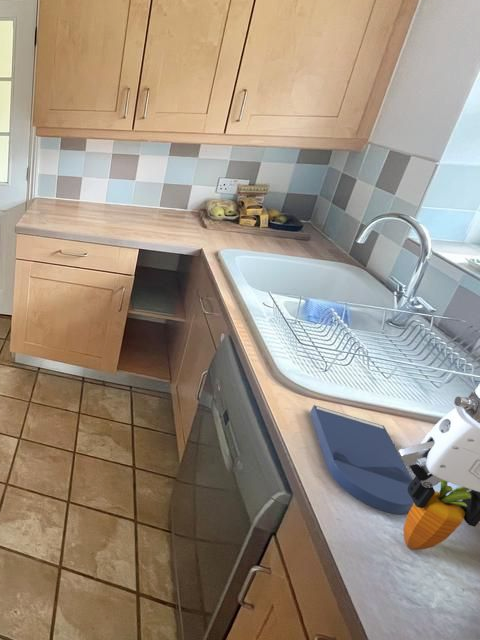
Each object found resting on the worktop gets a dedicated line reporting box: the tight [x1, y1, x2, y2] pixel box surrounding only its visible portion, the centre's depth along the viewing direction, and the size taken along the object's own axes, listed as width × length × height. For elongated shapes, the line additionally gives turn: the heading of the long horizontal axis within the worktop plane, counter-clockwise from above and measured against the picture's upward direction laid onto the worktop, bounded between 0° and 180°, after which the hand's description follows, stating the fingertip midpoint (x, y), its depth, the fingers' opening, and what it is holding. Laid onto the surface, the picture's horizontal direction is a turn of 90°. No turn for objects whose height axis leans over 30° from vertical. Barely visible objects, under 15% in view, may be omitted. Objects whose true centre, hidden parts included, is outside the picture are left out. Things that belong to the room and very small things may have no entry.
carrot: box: [402, 480, 471, 551], centre depth 63 cm, size 5×5×15 cm
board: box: [309, 404, 414, 515], centre depth 80 cm, size 12×22×3 cm, turn 153°
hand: (440, 507), depth 62 cm, fingers closed on carrot, 4 cm apart
